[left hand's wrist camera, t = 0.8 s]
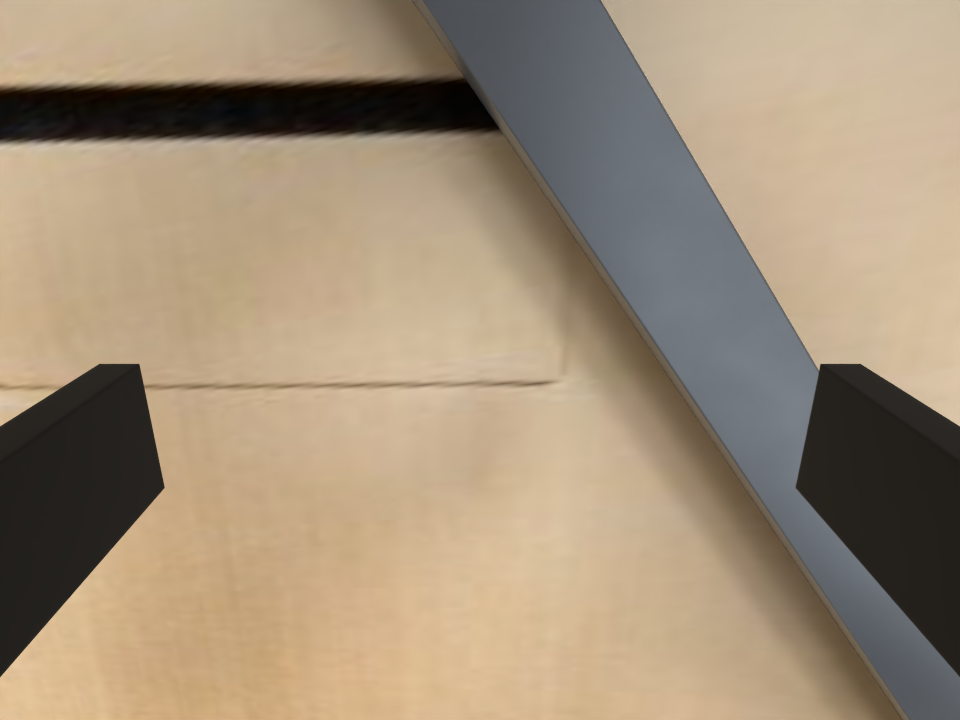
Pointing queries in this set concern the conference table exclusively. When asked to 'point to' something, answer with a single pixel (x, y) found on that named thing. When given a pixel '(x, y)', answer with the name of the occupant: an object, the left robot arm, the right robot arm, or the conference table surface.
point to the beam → (680, 286)
